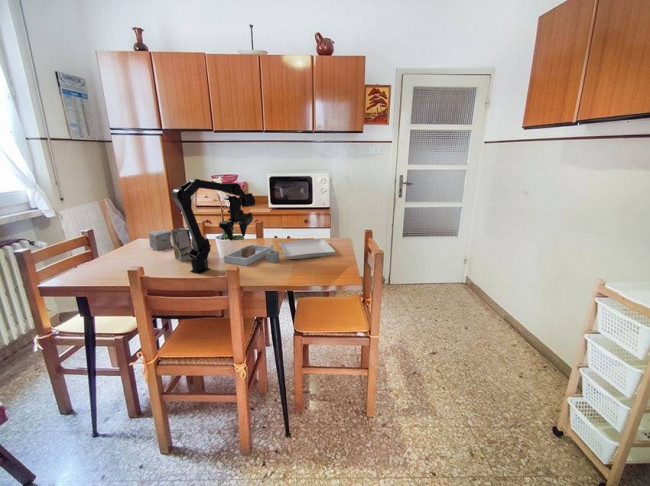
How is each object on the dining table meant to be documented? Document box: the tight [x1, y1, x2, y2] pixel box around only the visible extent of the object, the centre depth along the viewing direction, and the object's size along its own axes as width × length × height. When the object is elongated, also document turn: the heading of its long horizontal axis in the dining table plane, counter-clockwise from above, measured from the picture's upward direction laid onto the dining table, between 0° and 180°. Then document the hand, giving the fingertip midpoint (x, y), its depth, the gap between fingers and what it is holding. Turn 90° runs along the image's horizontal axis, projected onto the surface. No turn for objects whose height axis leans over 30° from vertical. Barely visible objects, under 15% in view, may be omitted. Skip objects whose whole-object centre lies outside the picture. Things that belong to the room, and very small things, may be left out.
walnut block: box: [240, 245, 256, 258], centre depth 158 cm, size 5×5×5 cm
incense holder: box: [148, 228, 173, 251], centre depth 179 cm, size 10×8×10 cm
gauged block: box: [264, 244, 280, 264], centre depth 152 cm, size 5×5×8 cm
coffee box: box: [169, 227, 193, 262], centre depth 158 cm, size 9×6×16 cm
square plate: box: [278, 238, 337, 260], centre depth 167 cm, size 27×27×4 cm
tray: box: [223, 244, 270, 267], centre depth 159 cm, size 22×14×4 cm, turn 156°
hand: (237, 238), depth 154 cm, fingers open, 9 cm apart
